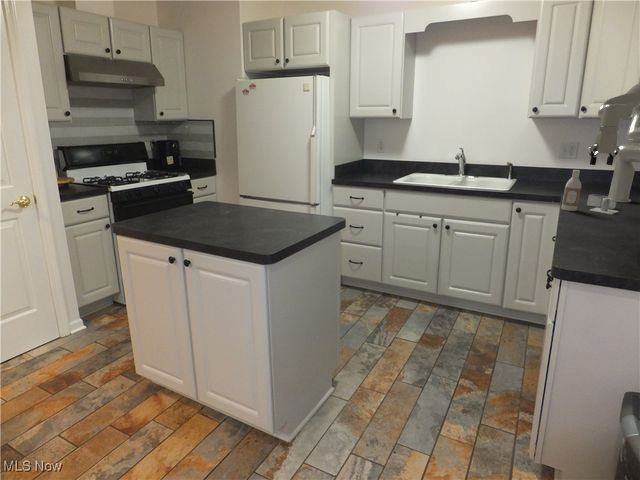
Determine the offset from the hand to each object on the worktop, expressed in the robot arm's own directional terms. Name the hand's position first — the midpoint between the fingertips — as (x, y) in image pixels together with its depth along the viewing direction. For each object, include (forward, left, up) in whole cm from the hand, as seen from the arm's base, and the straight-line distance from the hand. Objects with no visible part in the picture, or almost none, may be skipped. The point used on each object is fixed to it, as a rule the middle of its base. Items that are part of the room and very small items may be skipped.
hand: (600, 164), depth 218 cm
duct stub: (+4, +7, -22) cm, 24 cm away
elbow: (-8, +2, -22) cm, 24 cm away
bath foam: (+16, -5, -22) cm, 28 cm away
